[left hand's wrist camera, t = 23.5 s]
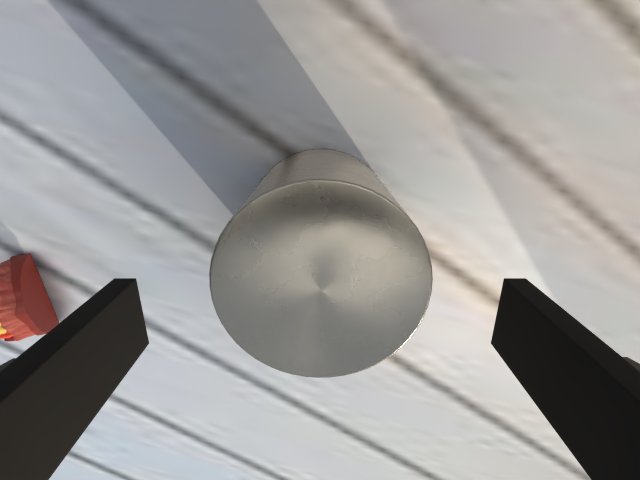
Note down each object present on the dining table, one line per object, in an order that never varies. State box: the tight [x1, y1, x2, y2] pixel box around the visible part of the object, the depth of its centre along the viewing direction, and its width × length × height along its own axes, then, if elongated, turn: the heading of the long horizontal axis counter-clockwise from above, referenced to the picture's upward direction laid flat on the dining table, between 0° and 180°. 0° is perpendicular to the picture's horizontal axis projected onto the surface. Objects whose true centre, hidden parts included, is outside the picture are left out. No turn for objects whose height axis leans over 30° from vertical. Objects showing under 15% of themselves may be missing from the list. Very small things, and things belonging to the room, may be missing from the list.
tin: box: [209, 149, 433, 378], centre depth 18 cm, size 9×9×9 cm
